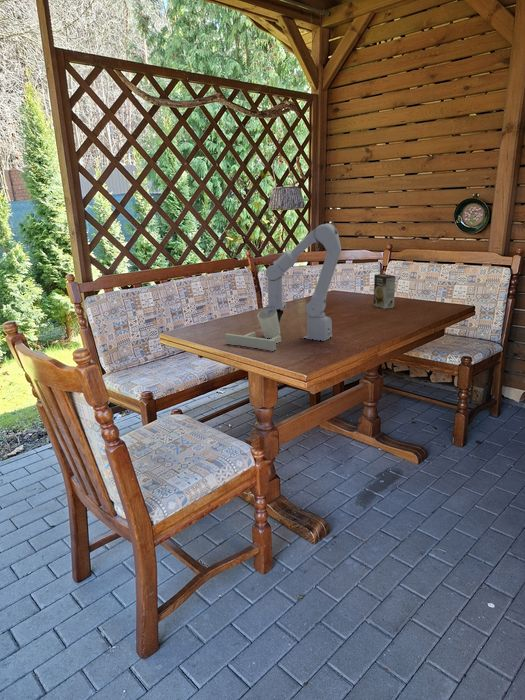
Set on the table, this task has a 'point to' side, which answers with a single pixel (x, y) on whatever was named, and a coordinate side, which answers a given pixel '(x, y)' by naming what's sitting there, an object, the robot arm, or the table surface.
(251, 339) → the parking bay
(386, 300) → the coffee box
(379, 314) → the table surface
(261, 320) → the white cup
